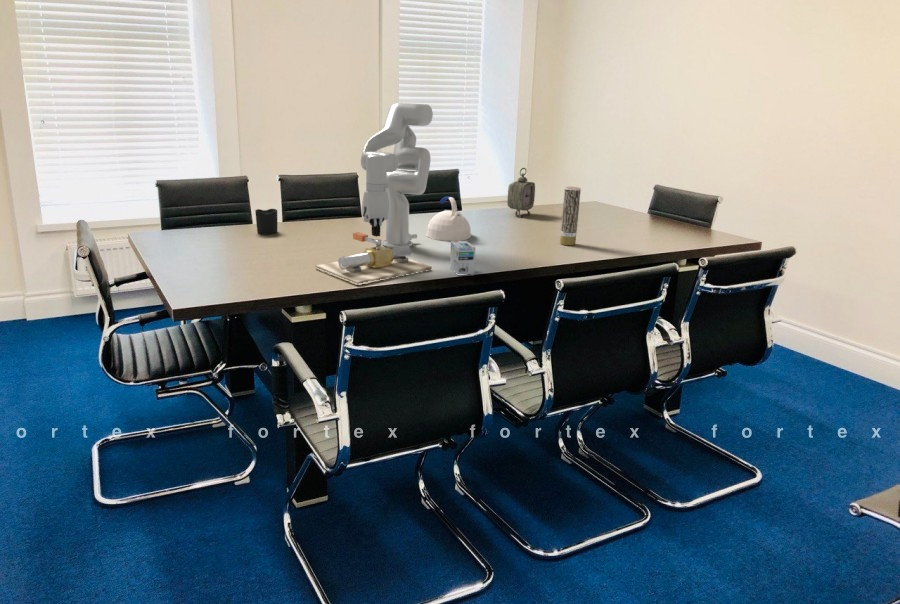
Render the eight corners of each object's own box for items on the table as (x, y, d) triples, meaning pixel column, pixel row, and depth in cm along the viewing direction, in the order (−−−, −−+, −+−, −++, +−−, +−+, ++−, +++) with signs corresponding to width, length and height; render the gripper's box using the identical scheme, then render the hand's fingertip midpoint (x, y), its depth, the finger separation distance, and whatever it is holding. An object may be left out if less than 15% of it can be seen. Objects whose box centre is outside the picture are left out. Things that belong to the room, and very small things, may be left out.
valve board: (388, 255, 275) (388, 252, 275) (431, 270, 258) (431, 266, 257) (315, 269, 253) (315, 265, 253) (357, 286, 235) (357, 282, 235)
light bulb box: (474, 275, 253) (476, 246, 250) (457, 276, 252) (458, 247, 248) (466, 267, 263) (467, 240, 260) (449, 268, 261) (450, 240, 258)
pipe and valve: (402, 258, 266) (402, 239, 264) (412, 262, 262) (412, 242, 260) (337, 271, 246) (336, 250, 244) (346, 275, 242) (346, 253, 240)
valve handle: (358, 237, 263) (358, 232, 262) (382, 245, 252) (382, 239, 252) (352, 238, 261) (352, 233, 260) (377, 246, 251) (377, 240, 250)
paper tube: (564, 241, 310) (569, 186, 302) (577, 244, 306) (583, 188, 298) (557, 244, 304) (562, 187, 296) (571, 246, 301) (576, 189, 293)
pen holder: (270, 235, 301) (269, 213, 298) (252, 233, 303) (250, 211, 300) (282, 231, 309) (281, 209, 306) (264, 229, 312) (263, 207, 309)
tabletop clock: (520, 218, 356) (524, 169, 348) (505, 216, 360) (508, 168, 352) (533, 214, 367) (536, 167, 359) (518, 212, 372) (521, 165, 364)
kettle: (437, 242, 300) (438, 201, 294) (419, 232, 317) (420, 193, 312) (478, 240, 308) (480, 199, 302) (459, 230, 325) (461, 192, 320)
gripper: (385, 185, 266) (385, 231, 272) (354, 188, 256) (354, 236, 262) (398, 187, 261) (397, 235, 267) (366, 190, 251) (365, 239, 257)
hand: (375, 235), depth 264 cm, fingers closed
